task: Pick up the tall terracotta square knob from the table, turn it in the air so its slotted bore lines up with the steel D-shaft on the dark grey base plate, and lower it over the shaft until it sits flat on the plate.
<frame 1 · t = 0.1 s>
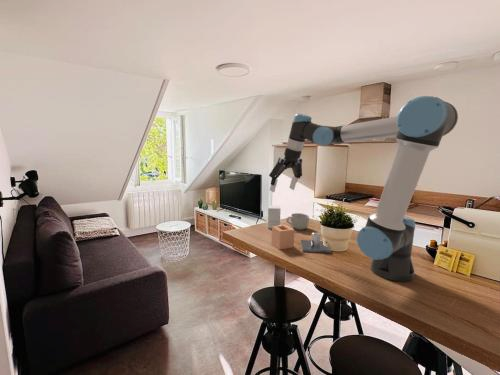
hand: (282, 189, 126), 27 cm above the breakfast bar, tool tilted 20°, fingers open, 13 cm apart
teacup: (296, 228, 155), on the breakfast bar
supplement box: (273, 227, 156), on the breakfast bar
board: (315, 247, 125), on the breakfast bar
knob: (282, 245, 127), on the breakfast bar
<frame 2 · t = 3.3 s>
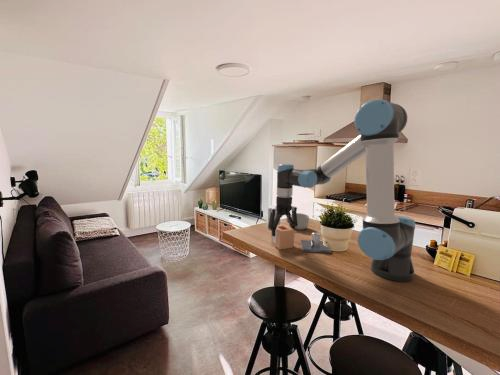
hand: (282, 241, 127), 2 cm above the breakfast bar, tool pointing down, fingers closed on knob, 8 cm apart
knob: (282, 245, 127), on the breakfast bar, touching gripper
everything else where it was.
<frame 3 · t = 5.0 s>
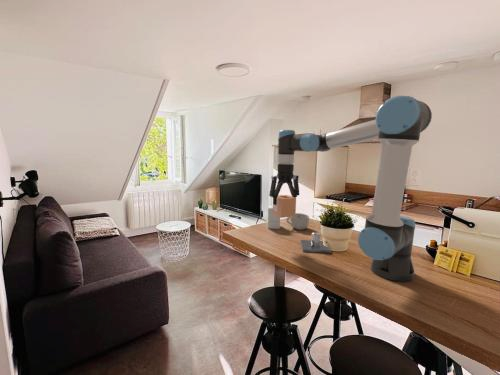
hand: (284, 210, 124), 18 cm above the breakfast bar, tool pointing down, fingers closed on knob, 8 cm apart
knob: (283, 215, 125), point 16 cm above the breakfast bar, touching gripper
everything else where it was.
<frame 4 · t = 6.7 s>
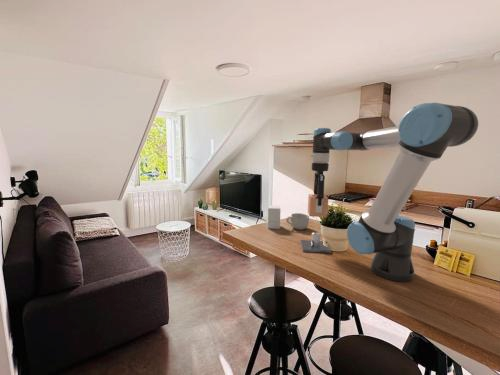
hand: (317, 209, 122), 19 cm above the breakfast bar, tool pointing down, fingers closed on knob, 8 cm apart
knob: (316, 214, 123), point 17 cm above the breakfast bar, touching gripper
everything else where it was.
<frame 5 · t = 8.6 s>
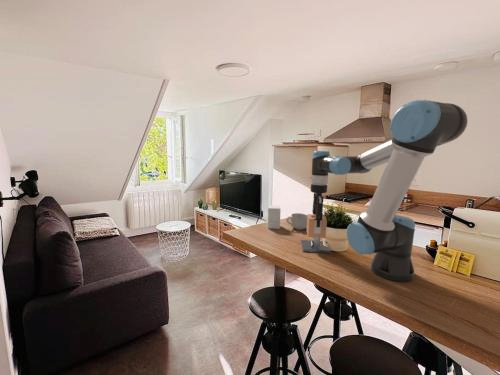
hand: (316, 230, 124), 9 cm above the breakfast bar, tool pointing down, fingers closed on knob, 8 cm apart
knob: (315, 234, 124), point 7 cm above the breakfast bar, touching gripper
everything else where it was.
when the fingers open (5 cm above the breakfast bar, at t = 10.2 s): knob drops 1 cm, resting on board.
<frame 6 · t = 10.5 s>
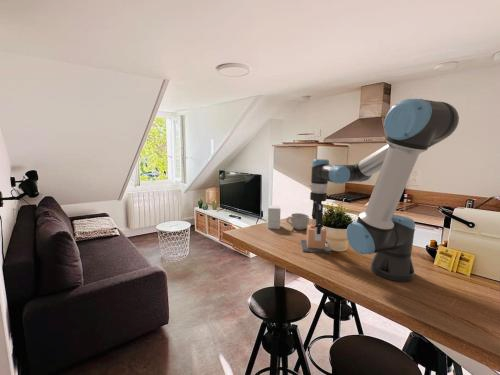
hand: (315, 235, 124), 6 cm above the breakfast bar, tool pointing down, fingers open, 12 cm apart
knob: (315, 245, 125), point 1 cm above the breakfast bar, touching board
everything else where it was.
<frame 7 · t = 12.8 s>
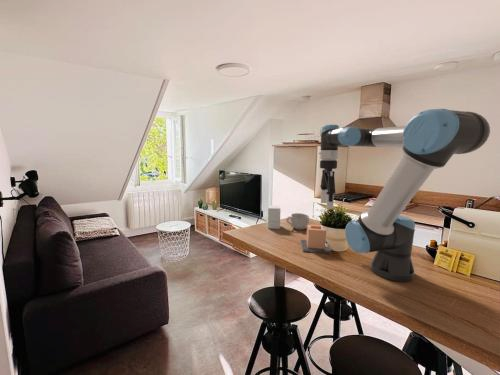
hand: (326, 205, 119), 22 cm above the breakfast bar, tool pointing down, fingers open, 13 cm apart
nothing on the breakfast bar moved.
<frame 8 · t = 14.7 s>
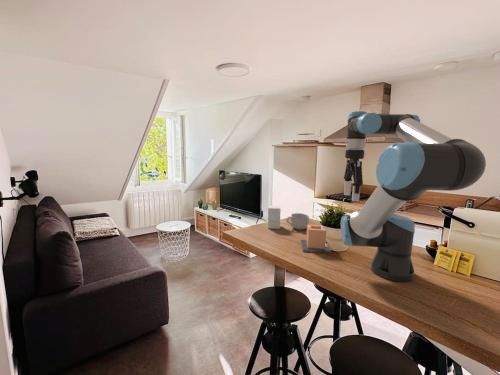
hand: (350, 198, 113), 27 cm above the breakfast bar, tool pointing down, fingers open, 13 cm apart
nothing on the breakfast bar moved.
at the end: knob 0.1 cm off-centre on the board, point 1.2 cm above the board's base; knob tilted 0°; the gripper is holding nothing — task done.
